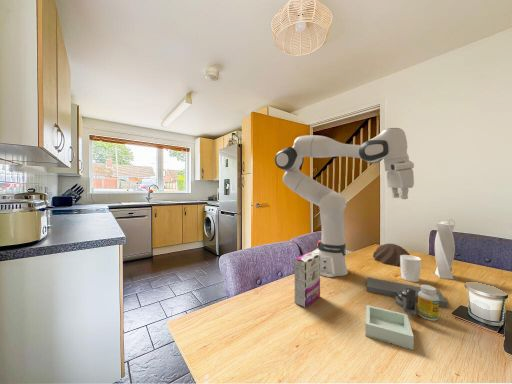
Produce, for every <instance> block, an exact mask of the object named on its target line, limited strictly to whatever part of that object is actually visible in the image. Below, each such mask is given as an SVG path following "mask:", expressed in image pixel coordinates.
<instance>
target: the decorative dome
mask: <svg viewBox="0 0 512 384" xmlns="http://www.w3.org/2000/svg"><path fill="white" fill-rule="evenodd" d="M400 255H411V254H410V253H409V252H408V251H407V250H406V249H405V248H404V247H402V246H400V245H399V244H395V243H385V244H382V245H380V246H378V247H376V250H375V251H374V252H373V255H372V257H373V258H374V260H373V261H377V262H380V263H381V264H384V265H390V266H394V267H401V266H400Z"/></svg>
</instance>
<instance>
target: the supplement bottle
mask: <svg viewBox="0 0 512 384" xmlns="http://www.w3.org/2000/svg"><path fill="white" fill-rule="evenodd" d="M420 287H421V288H420V289H421V291H419V292H418V302H417V314H418V315H419V316H420V317H421V318H422V319H425V320H428V321H435V322H437V321H439V311H440V309H439V307H440V306H439V297H438V296H437V295H436V290H437V288H436V287H434V286H432V285H429V284H421V285H420Z"/></svg>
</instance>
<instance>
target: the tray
mask: <svg viewBox="0 0 512 384" xmlns="http://www.w3.org/2000/svg"><path fill="white" fill-rule="evenodd" d="M365 305H366V306H365V308H366V309H365V337H368V338H371V339H374V338H375V340H378V341H382V342H385V343H388V344H391V343H392V345H395V346H399V347H402V348H404V349H405V348H406V349H408V348H409V349H408V350H412V351H413V350H414V347H415V346H414V341H415V339H414V333H413V330H412V326H411V323H410V319H409V316H408V313H407V314H406V313H404V312H403V313H402V312H399V311H398V312H397V311H394V310H390V309H387V308H381V307H377V306H373V305H368V304H365Z"/></svg>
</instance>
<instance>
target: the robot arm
mask: <svg viewBox="0 0 512 384" xmlns="http://www.w3.org/2000/svg"><path fill="white" fill-rule="evenodd" d="M334 157H335V158H336V157H345V158H355V159H360V160H363V161H365V162H366V163H368V164H377V163H380V162H381V161H382V160H383V163H384V172H386V185H387V188H391V191H392V194H393V198H396V199H397V198H400V197H401V199H402V200H408V199H409V196H408V195H409V191H410V190H409V189H411V188H412V189H413V187H414V185H415V180H414V178H415V177H414V170H413V169H414V168H415V164H414V162H413V161H411V160H410V158H409V153H408V141H407V135H406V132H405V130H404V129H403V128H399V127H390V128H389V127H388V128H385V129H383V130H382V131H381V132H380V133H378V134H377V135H376V136H374V137H373V138H371V139H368V140H366V141H364V142H363V143H362V144H351V143H350V144H349V143H348V144H347V143H342V142H341V141H337V140H335V139H333V138H330V137H328V136H324V135H315V134H311V135H309V134H308V135H307V134H306V135H299V136H298V137H296V138H295V140H294V141H293V145H292V146H287V147H286V148H283V149H281V150H279V151H278V152H276V155H275V156H274V163H275V166H277V168H279V169H280V170H283V171H284V174H283V175H282V182H283V185H285V186H286V187H287V188H288V189H290V190H291V191H292V192H293V193H295V194H297V196H298V195H299V197H301V198H303V199H304V200H306V201H307V202H309V203H312V204H314V205H316V206H318V209H319V216H320V224H321V225H320V226H321V239H319V240H318V242H317V243H316V247H317V248H316V249H314V250H313V251H311V252H312V253H316V254H320V276H324V277H328V278H334V277H342V276H346V275H347V274H349V271H348V268H347V263H346V261H347V260H346V255H347V254H346V253H347V246H346V241H345V240H346V239H345V237H346V236H345V235H346V234H345V233H346V228H345V215H344V214H345V213H344V212H345V209H346V207H347V201H346V198H345V196H343V195H342V194H341V193H338V192H337V191H335V190H333V189H331V188H329V187H327V186H326V185H324V184H321V183H320V182H319V181H317V180H315V179H313V178H312V177H310V176H309V175H307V174H305V173H304V172H302V169H303V165H304V161H305V158H315V159H318V158H319V159H322V158H334ZM398 189H400V191H401V195H400V193H399V190H398Z"/></svg>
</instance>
